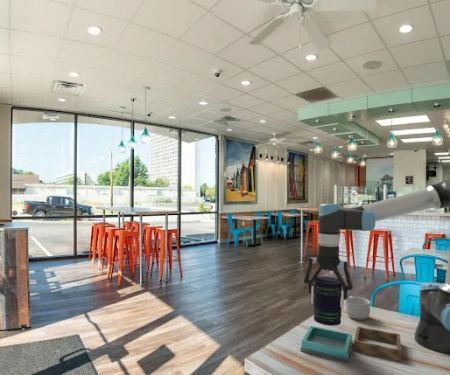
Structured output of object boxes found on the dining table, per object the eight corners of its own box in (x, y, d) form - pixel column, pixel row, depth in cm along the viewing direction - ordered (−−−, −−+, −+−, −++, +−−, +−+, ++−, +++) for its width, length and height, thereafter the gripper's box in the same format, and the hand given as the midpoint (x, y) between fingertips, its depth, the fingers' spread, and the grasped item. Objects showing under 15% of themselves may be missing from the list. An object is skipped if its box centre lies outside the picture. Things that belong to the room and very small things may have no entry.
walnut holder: (399, 343, 121) (399, 334, 121) (401, 361, 107) (401, 350, 107) (357, 334, 127) (357, 326, 127) (354, 350, 114) (354, 340, 114)
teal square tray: (352, 343, 120) (352, 333, 120) (348, 362, 106) (348, 351, 106) (310, 334, 127) (310, 325, 127) (300, 350, 113) (300, 341, 113)
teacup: (372, 323, 140) (372, 305, 140) (346, 320, 142) (347, 302, 142) (365, 312, 154) (365, 295, 154) (341, 309, 156) (342, 293, 156)
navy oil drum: (311, 322, 114) (312, 281, 114) (314, 313, 123) (315, 275, 124) (340, 327, 110) (341, 284, 111) (341, 318, 119) (342, 278, 120)
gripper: (361, 246, 116) (360, 307, 115) (300, 241, 126) (299, 297, 125) (360, 249, 109) (359, 314, 108) (296, 243, 119) (294, 302, 119)
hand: (327, 305), depth 117 cm, fingers closed on navy oil drum, 10 cm apart
